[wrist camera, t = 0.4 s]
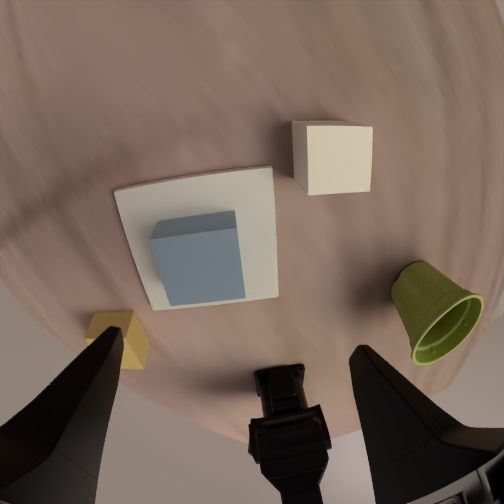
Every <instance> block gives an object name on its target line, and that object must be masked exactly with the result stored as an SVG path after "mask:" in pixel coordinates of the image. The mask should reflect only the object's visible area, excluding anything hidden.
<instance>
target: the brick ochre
mask: <svg viewBox="0 0 504 504" xmlns="http://www.w3.org/2000/svg"><path fill="white" fill-rule="evenodd" d="M109 326H116V327H120V328H121V329H122V334H123V340H124V350H123V356H122V362H121V368H120V369H144V367H145V362H146V357H147V352H148V347H149V343H150V342H149V340H148V338H147V336H146V334H145V332H144V330H143V328H142V326H141V324H140V322H139V319H138V317H137V315H136V313H135V311H134V310H131V311H115V312H97V313H94V316H93V318H92V320H91V322H90V325H89V327H88V329H87V332H86V334H85V337H84V340H85V341H86V343H87V344H88V346H89V345H90V344H91V343H92V342H93V341H94V340H95V339H96V338H97V337H98V336H99V335H100V334H101V333H102V332H104V331H105V330H106V329H107V328H108V327H109Z"/></svg>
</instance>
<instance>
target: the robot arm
mask: <svg viewBox="0 0 504 504" xmlns="http://www.w3.org/2000/svg"><path fill="white" fill-rule="evenodd" d="M123 350H124V340H123V334H122V329H121V328H120V327H116V326H109V327H108V328H107V329H106V330H105V331H104V332H102V333H101V334H100V335H99V336H98V337H97V338H96V339H95V340H94V341H93V342H92V343H91V344H90V345H89V346H88V347H87V348H86V349H84V350H83V351H82V352H81V353H80V354H79V355H78V356H77V357H76V358H75V359H74V360H73V361H72V362H71V363H70V364H69V365H68V366H67V367H66V368H65V369H64V370H63V371H62V372H61V373H60V374H59V375H58V376H57V377H56V378H55V379H54V380H53V381H52V382H51V383H50V385H48V386H47V387H46V388H45V389H44V390H43V391H42V392H41V393H40V394H39V395H38V396H37V397H36V398H35V399H34V400H32V401H31V402H30V403H29V404H28V405H27V406H26V407H24V408H23V409H22V410H21V411H19V412H18V413H17V414H16V415H14V416H13V417H12V418H11V419H10V420H8V421H7V422H6V423H5V424H3V425H2V426H0V504H95V497H96V490H97V482H98V475H99V469H100V463H101V458H102V452H103V446H104V442H105V437H106V432H107V428H108V423H109V419H110V414H111V410H112V406H113V402H114V398H115V394H116V390H117V386H118V381H119V375H120V368H121V362H122V356H123ZM349 366H350V373H351V379H352V386H353V393H354V398H355V402H356V406H357V410H358V414H359V419H360V423H361V428H362V432H363V436H364V441H365V446H366V451H367V456H368V461H369V466H370V472H371V477H372V483H373V489H374V495H375V502H376V504H407V503H409V504H504V428H475V427H468V426H465V425H463V424H462V423H460V422H459V421H457V420H456V419H455V418H453V417H452V416H451V415H449V414H448V413H446V412H445V411H444V410H442V409H441V408H440V407H439V406H437V405H436V404H435V403H434V402H433V401H431V400H430V399H429V398H428V397H427V396H426V395H424V394H423V393H422V392H421V391H420V390H419V389H418V388H417V387H415V386H414V385H413V384H412V383H411V382H410V381H409V380H407V379H406V378H405V377H404V376H403V375H402V374H401V373H399V372H398V371H397V370H396V369H395V368H394V367H393V366H391V365H390V364H389V363H388V362H387V361H386V360H385V359H383V358H382V357H381V356H380V355H379V354H378V353H377V352H375V351H374V350H373V349H372V348H371V347H370V346H368V345H358V346H357V347H356V349H355V350H354V352H353V353H352V355H351V356H350V359H349ZM304 372H305V367H304V365H303V364H300V365H295V366H289V367H283V368H276V369H269V370H262V371H256V372H255V373H254V376H255V382H256V389H257V395H258V396H259V397H261V403H262V410H263V418H257V419H255V418H253V419H251V423H250V424H249V446H248V453H249V454H250V455H252V456H253V458H254V460H255V462H256V464H260V469H261V473H262V474H263V475H264V476H265V477H266V479H267V480H268V481H269V482H270V483H271V484H272V485H273V486H274V487H275V488H276V489H277V490H278V491H279V492H280V494H281V499H282V504H323V501H322V496H321V491H320V487H319V484H320V482H321V479H322V477H323V475H324V472H325V469H326V467H327V464H328V460H329V458H328V453H327V450H329V449H331V448H332V447H331V440H330V435H329V431H328V428H327V425H326V422H325V419H324V416H323V413H322V410H321V407H320V404H318V405H315V406H313V407H309V408H308V405H307V401H306V397H305V393H304V389H303V380H304Z"/></svg>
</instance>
